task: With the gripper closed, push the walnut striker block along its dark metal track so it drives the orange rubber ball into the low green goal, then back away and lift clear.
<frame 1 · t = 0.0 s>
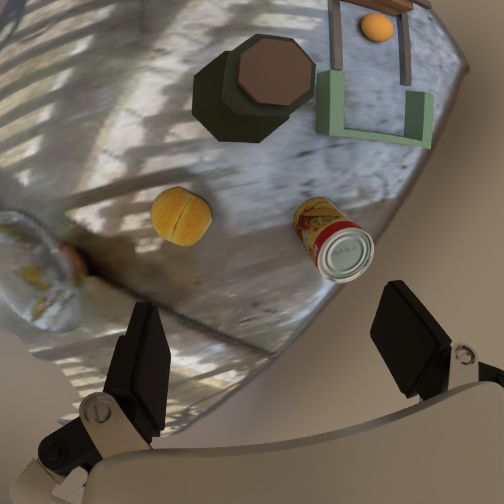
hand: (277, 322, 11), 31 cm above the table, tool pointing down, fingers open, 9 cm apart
track: (369, 22, 28), on the table
goal: (370, 109, 35), on the table
bread roll: (182, 214, 41), on the table
canned food: (316, 219, 44), on the table
ball: (377, 27, 26), point 2 cm above the table
wine bottle: (232, 103, 34), on the table
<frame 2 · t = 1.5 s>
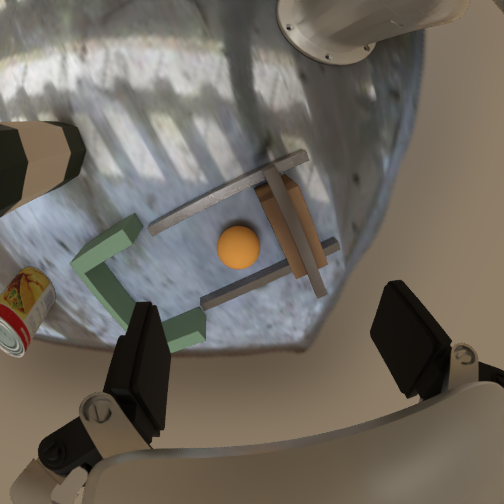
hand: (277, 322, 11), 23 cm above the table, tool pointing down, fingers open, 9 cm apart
track: (247, 233, 34), on the table
goal: (145, 282, 36), on the table
canned food: (37, 286, 34), on the table
ball: (238, 247, 32), point 2 cm above the table
wine bottle: (58, 154, 26), on the table
striker: (292, 227, 30), point 4 cm above the table, slide at 0.0 cm
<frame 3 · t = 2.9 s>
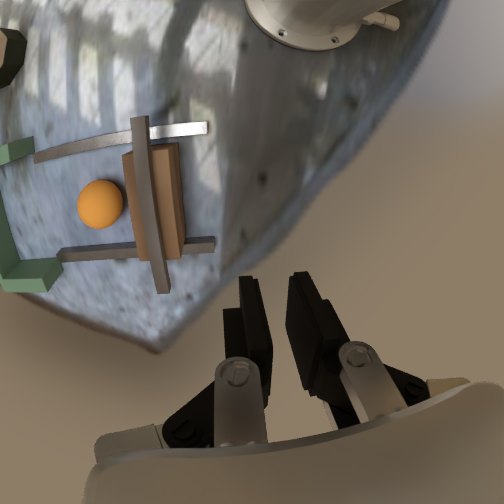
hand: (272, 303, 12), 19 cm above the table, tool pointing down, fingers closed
track: (120, 195, 27), on the table
goal: (21, 211, 26), on the table
ball: (100, 204, 25), point 2 cm above the table
wine bottle: (5, 60, 15), on the table
striker: (156, 201, 24), point 4 cm above the table, slide at 0.0 cm
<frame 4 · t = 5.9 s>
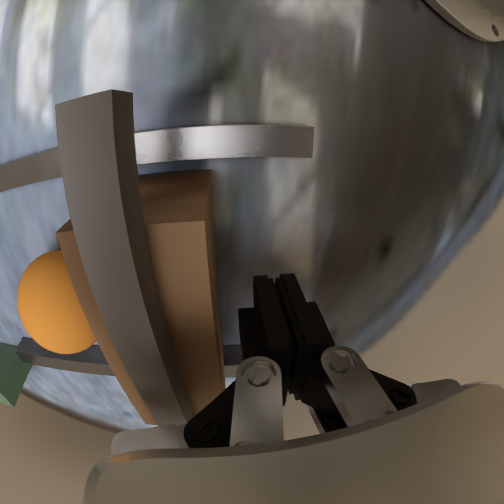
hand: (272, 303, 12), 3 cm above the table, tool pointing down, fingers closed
track: (103, 273, 13), on the table
ball: (62, 302, 11), point 2 cm above the table
striker: (167, 321, 10), point 4 cm above the table, slide at 0.9 cm, touching gripper
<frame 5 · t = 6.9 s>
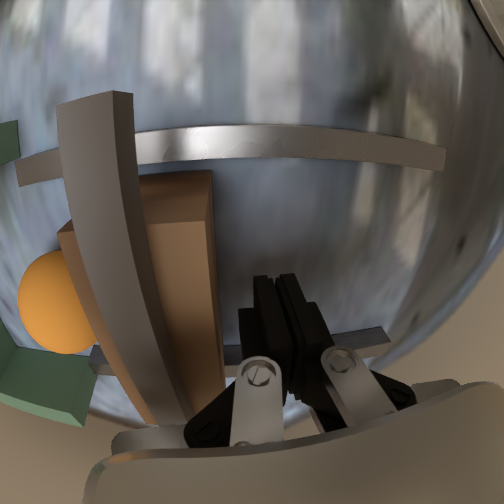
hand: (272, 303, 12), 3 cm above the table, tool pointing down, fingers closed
track: (237, 268, 14), on the table
goal: (5, 276, 12), on the table
ball: (63, 302, 11), point 2 cm above the table, tilted 161°
striker: (167, 321, 10), point 4 cm above the table, slide at 8.0 cm, touching gripper
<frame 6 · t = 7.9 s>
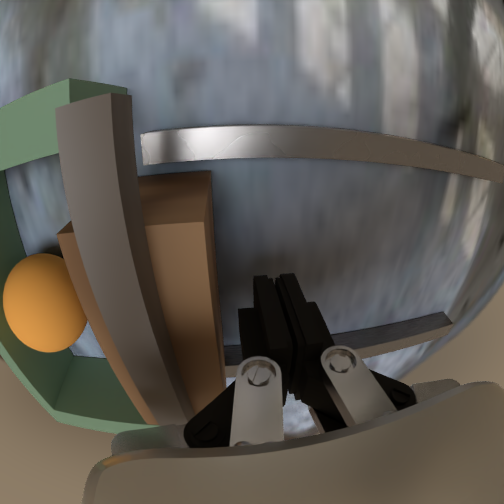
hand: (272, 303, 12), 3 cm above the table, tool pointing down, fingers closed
track: (356, 260, 14), on the table
goal: (76, 275, 13), on the table
ball: (45, 303, 11), point 2 cm above the table, tilted 19°
striker: (167, 321, 10), point 4 cm above the table, slide at 14.5 cm, touching gripper
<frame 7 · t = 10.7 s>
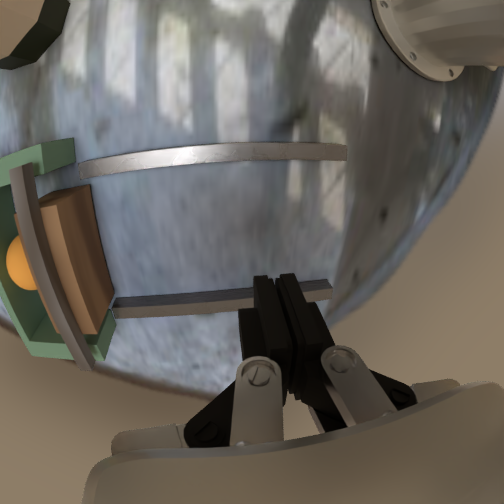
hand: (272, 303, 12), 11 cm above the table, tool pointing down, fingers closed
track: (216, 230, 22), on the table
goal: (50, 247, 20), on the table
ball: (30, 260, 18), point 2 cm above the table, tilted 19°
wine bottle: (33, 28, 11), on the table
striker: (65, 263, 17), point 4 cm above the table, slide at 16.9 cm
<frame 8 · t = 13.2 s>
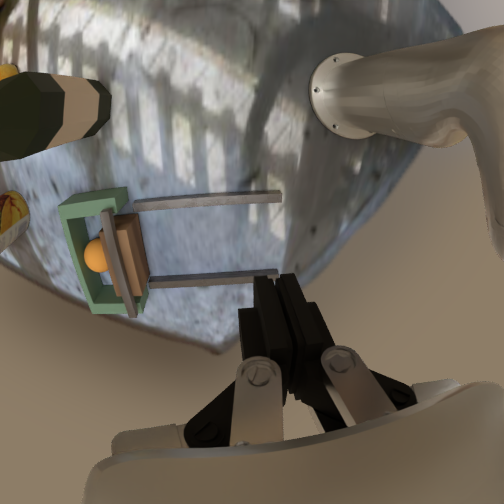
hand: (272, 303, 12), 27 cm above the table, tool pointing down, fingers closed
track: (209, 239, 40), on the table
goal: (110, 246, 38), on the table
bread roll: (5, 91, 23), on the table
canned food: (15, 212, 33), on the table
ball: (99, 255, 36), point 2 cm above the table, tilted 20°
wine bottle: (86, 108, 28), on the table
striker: (125, 257, 35), point 4 cm above the table, slide at 16.9 cm
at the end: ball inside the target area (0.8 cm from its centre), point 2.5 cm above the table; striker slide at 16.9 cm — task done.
